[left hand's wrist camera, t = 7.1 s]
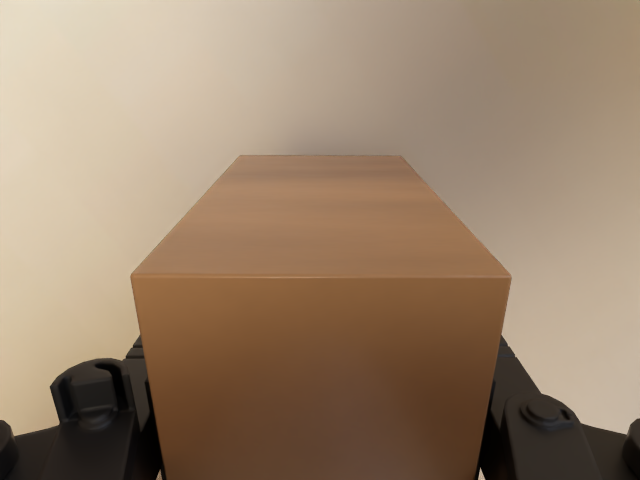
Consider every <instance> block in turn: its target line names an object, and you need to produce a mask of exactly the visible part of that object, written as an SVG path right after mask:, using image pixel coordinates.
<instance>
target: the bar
mask: <svg viewBox="0 0 640 480" xmlns="http://www.w3.org/2000/svg"><path fill="white" fill-rule="evenodd" d="M131 283H132V289H133V294H134V300H135V306H136V311H137V317H138V323H139V328H140V334H141V340H142V345H143V351H144V357H145V362H146V368H147V374H148V379H149V385H150V391H151V396H152V402H153V408H154V413H155V419H156V425H157V430H158V436H159V442H160V447H161V453H162V459H163V464H164V470H165V476H166V480H475V474H476V469H477V464H478V458H479V453H480V447H481V442H482V436H483V431H484V425H485V420H486V414H487V409H488V404H489V398H490V393H491V387H492V382H493V376H494V371H495V365H496V360H497V355H498V349H499V344H500V338H501V333H502V327H503V322H504V316H505V311H506V305H507V300H508V295H509V289H510V284H511V274H510V273H509V272H508V271H507V270H506V269H505V268H504V267H503V266H502V265H501V264H500V263H499V262H498V260H497V259H496V258H495V257H494V256H493V255H492V254H491V253H490V252H489V251H488V250H487V249H486V247H485V246H484V245H483V244H482V243H481V242H480V241H479V240H478V239H477V238H476V237H475V236H474V234H473V233H472V232H471V231H470V230H469V229H468V228H467V227H466V226H465V225H464V224H463V223H462V222H461V220H460V219H459V218H458V217H457V216H456V215H455V214H454V213H453V212H452V211H451V210H450V209H449V207H448V206H447V205H446V204H445V203H444V202H443V201H442V200H441V199H440V198H439V197H438V196H437V195H436V193H435V192H434V191H433V190H432V189H431V188H430V187H429V186H428V185H427V184H426V183H425V182H424V180H423V179H422V178H421V177H420V176H419V175H418V174H417V173H416V172H415V171H414V170H413V169H412V167H411V166H410V165H409V164H408V163H407V162H406V161H405V160H404V159H403V158H402V157H401V156H302V155H240V156H239V157H238V158H237V159H236V160H235V161H234V163H233V164H232V165H231V166H230V167H229V168H228V169H227V170H226V171H225V172H224V173H223V175H222V176H221V177H220V178H219V179H218V180H217V181H216V182H215V183H214V184H213V185H212V187H211V188H210V189H209V190H208V191H207V192H206V193H205V194H204V195H203V196H202V197H201V199H200V200H199V201H198V202H197V203H196V204H195V205H194V206H193V207H192V208H191V209H190V211H189V212H188V213H187V214H186V215H185V216H184V217H183V218H182V219H181V220H180V221H179V223H178V224H177V225H176V226H175V227H174V228H173V229H172V230H171V231H170V232H169V233H168V235H167V236H166V237H165V238H164V239H163V240H162V241H161V242H160V243H159V244H158V245H157V247H156V248H155V249H154V250H153V251H152V252H151V253H150V254H149V255H148V256H147V257H146V259H145V260H144V261H143V262H142V263H141V264H140V265H139V266H138V267H137V268H136V269H135V271H134V272H133V273H132V274H131Z"/></svg>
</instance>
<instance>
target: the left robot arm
mask: <svg viewBox="0 0 640 480" xmlns="http://www.w3.org/2000/svg"><path fill="white" fill-rule="evenodd" d="M50 390H51V393H52V397H53V400H54V404H55V407H56V411H57V414H58V418H59V421H60V424H59V425H58V426H55V427H51V428H48V429H44V430H40V431H35V432H31V433H27V434H22V435H18V436H14V435H13V432H12V429H11V426H10V425H8V424H7V423H6V422H5V421H3V420H0V480H156V478H157V475H158V473H159V470H161V475H162V480H166V476H165V470H164V464H163V459H162V453H161V447H160V442H159V436H158V430H157V425H156V419H155V413H154V408H153V402H152V396H151V391H150V385H149V379H148V374H147V368H146V362H145V357H144V351H143V345H142V340H141V334H140V336H139V337H138V339H137V340H136V342H135V343H134V345H133V348H131V349H130V351H129V352H128V353H127V355H126V359H123V361H120V360H116V359H112V358H102V359H94V360H90V361H86V362H82V363H80V364H78V365H76V366H74V367H71V368H69V369H68V370H66V371H65V372H63V373H62V374H61V375H59V376H58V377H57V378H56V379H55V380H54V382H53V383H52V384H51V386H50ZM480 467H481V470H482V472H483V475H484V477H485V480H640V418H639V419H636V420H635V421H634V422H633V423H632V424H631V425H630V428H629V430H628V433H627V435H626V434H621V433H617V432H613V431H608V430H604V429H600V428H595V427H592V426H588V425H585V424H582V423H580V421H579V419H578V418H577V416H576V415H575V413H574V412H573V411H572V410H571V409H569V408H568V407H567V406H566V405H565V404H563V403H562V402H560V401H558V400H556V399H554V398H552V397H550V396H548V395H544V394H541V392H540V391H539V389H538V388H537V387H536V385H535V384H534V382H533V381H532V379H531V378H530V376H529V375H528V373H527V372H526V370H525V369H524V367H523V366H522V364H521V363H520V361H519V360H518V359H517V357H515V354H514V353H513V351H512V350H511V348H510V347H508V344H507V342H506V341H505V339H504V338H503V336H502V335H501V338H500V344H499V349H498V355H497V360H496V365H495V371H494V376H493V382H492V387H491V393H490V398H489V404H488V409H487V414H486V420H485V425H484V431H483V436H482V442H481V447H480V453H479V458H478V464H477V469H476V474H475V480H478V477H479V471H480Z"/></svg>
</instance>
